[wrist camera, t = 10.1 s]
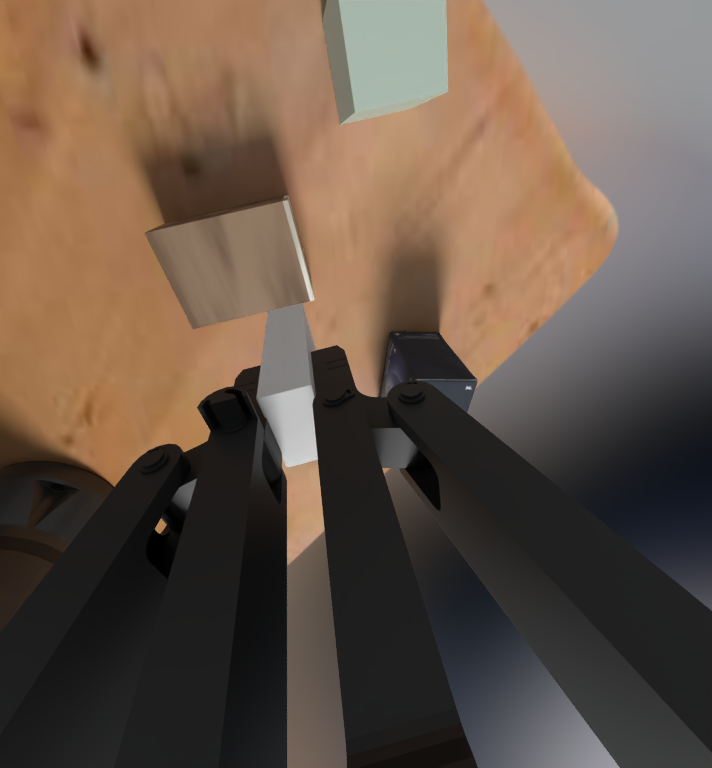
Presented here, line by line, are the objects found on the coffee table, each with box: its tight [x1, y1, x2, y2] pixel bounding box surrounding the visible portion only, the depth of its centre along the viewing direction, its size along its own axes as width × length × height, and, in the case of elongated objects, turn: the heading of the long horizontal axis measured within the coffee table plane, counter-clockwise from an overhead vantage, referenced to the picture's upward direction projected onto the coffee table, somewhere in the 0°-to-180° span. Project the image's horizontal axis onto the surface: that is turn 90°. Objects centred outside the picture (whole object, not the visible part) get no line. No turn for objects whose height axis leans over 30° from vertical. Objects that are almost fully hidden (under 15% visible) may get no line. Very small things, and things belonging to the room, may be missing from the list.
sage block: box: [322, 0, 448, 125], centre depth 23 cm, size 6×6×8 cm
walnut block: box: [145, 195, 314, 329], centre depth 30 cm, size 5×8×11 cm
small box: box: [380, 331, 478, 412], centre depth 37 cm, size 11×6×10 cm, turn 175°
